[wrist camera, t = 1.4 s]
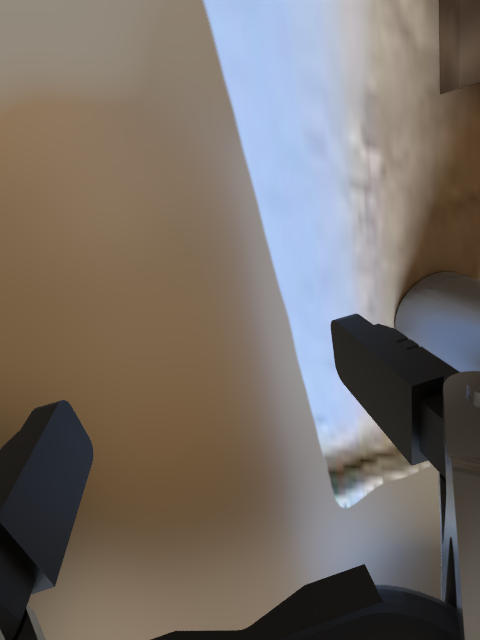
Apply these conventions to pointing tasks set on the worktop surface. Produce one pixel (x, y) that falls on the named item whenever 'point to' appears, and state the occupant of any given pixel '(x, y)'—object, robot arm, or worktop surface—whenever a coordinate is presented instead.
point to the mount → (459, 44)
